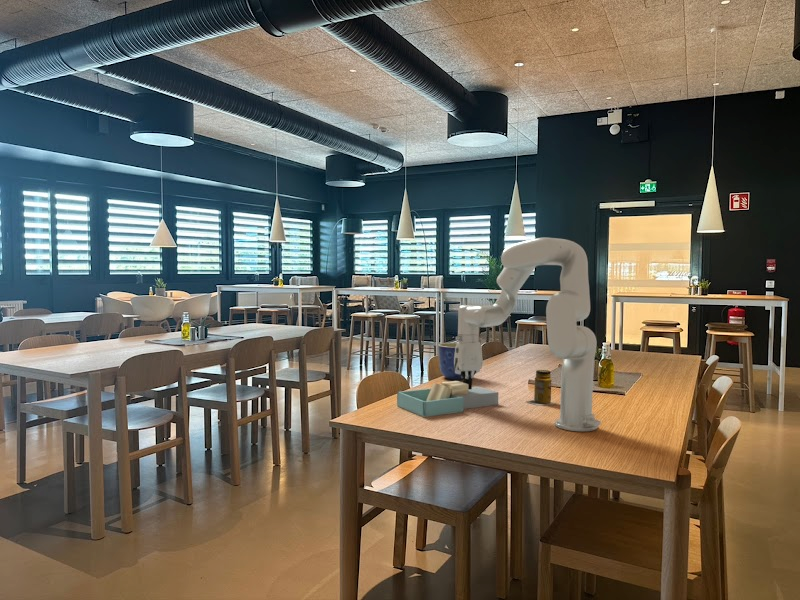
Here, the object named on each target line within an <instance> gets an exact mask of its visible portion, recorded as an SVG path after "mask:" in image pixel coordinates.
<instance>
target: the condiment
mask: <svg viewBox="0 0 800 600" xmlns="http://www.w3.org/2000/svg"><path fill="white" fill-rule="evenodd" d="M551 377H552V376H551V371H550V370H548V369H537V370H536V371H535V378H534V394H533V396H534V397H533V399H534V400H533V399H531V400H526V401H525V403H528V404H532V405H536V406H546V405H548V406H549V405H554V404H556V402H554V401H551V400H552V378H551Z"/></svg>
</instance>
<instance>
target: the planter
mask: <svg viewBox="0 0 800 600" xmlns="http://www.w3.org/2000/svg"><path fill="white" fill-rule="evenodd" d="M456 343H457V342H442V343H438V344H437V345H438V346H437V350H438V351H437V352H438V363H439V365H438V366H439V370H440V373H441V375H442V376H443V377H444V378H446V379H449V380H453V381H460V380H461V381H463V378H462V377H461V375H460V374H456V373H455V368H454V355H455V348H456ZM460 371H461V370H460Z"/></svg>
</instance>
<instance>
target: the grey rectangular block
mask: <svg viewBox="0 0 800 600" xmlns="http://www.w3.org/2000/svg"><path fill="white" fill-rule="evenodd" d="M457 397H463V410H467V409H473V408H474V409H476V408H480V407H481V408H482V407H487V406H497V405H499V391H496V390H492V389H488V388H485V387H482V386H472V389H469V390H468V394H463V395H453V396H452V395H450V396H449V398H457ZM449 398H448V399H449Z"/></svg>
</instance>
